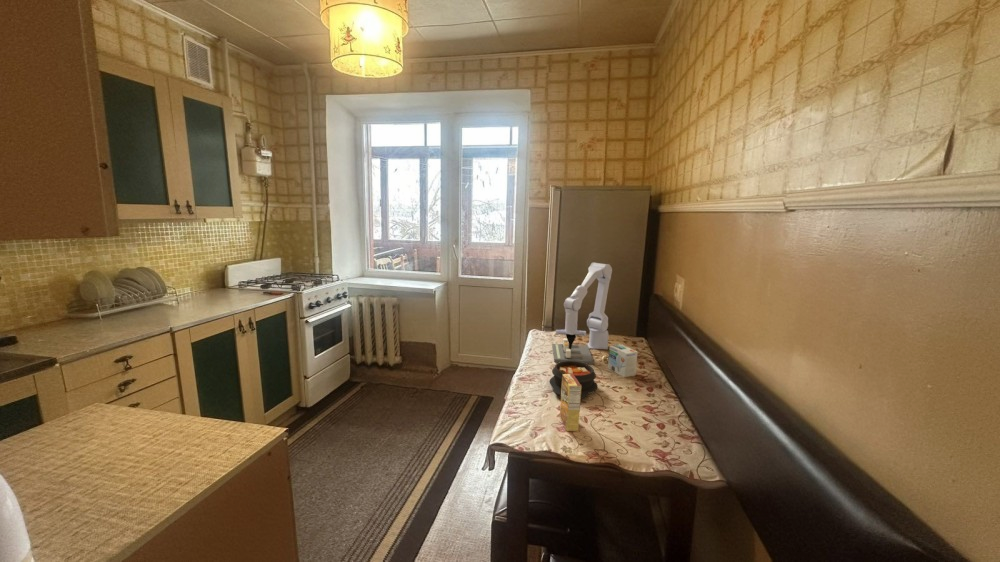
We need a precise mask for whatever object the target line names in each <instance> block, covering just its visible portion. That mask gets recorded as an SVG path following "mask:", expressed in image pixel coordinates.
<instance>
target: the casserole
mask: <svg viewBox="0 0 1000 562" xmlns="http://www.w3.org/2000/svg"><path fill="white" fill-rule="evenodd" d="M551 373H552V375H553V376H552V377H550V379H549V385H550V386H551V387H552V391H553V392H554V393H555V394H556V395H558V396H561V388H562V374H574V376H575V377H576V379H577V380H578V382H579V383H580V384H581V386H582V387H581V399H583V398H587V396H588V395H589V394H592V393H593V392H595V391H597V389H598V383H597V382H596V381H595V379H596V377H597V374H596V372H595V370H594V368H593V367H592V366H591V365H590V364H585V363H581V362H576V361H564V362H556V364H555V365H554V367H553V368H552V370H551Z"/></svg>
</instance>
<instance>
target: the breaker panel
mask: <svg viewBox="0 0 1000 562" xmlns="http://www.w3.org/2000/svg"><path fill="white" fill-rule="evenodd" d="M564 342H566V343H568V344H569V342H568V339H567V337H566V338H565V337H563V339H562V343H552V344H551V347H552V349H551V350H552V355H553V362H554V363H560V362H564V361H576V362H581V363H585V364H587V365H594V364H595V361H594V359H593V356H592V352H590V348H589V346H588V344H572V347H571V350H570V349H569V347H568V349H566V352H564Z"/></svg>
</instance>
